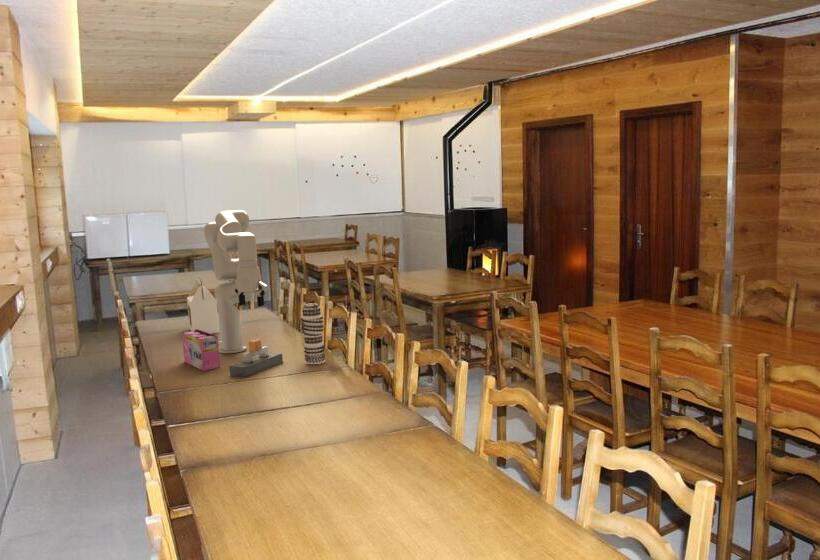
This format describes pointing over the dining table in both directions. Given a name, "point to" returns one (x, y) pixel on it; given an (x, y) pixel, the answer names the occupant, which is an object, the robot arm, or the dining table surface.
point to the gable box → (202, 309)
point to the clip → (255, 351)
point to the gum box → (201, 349)
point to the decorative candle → (313, 333)
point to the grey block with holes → (255, 365)
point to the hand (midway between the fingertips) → (251, 305)
